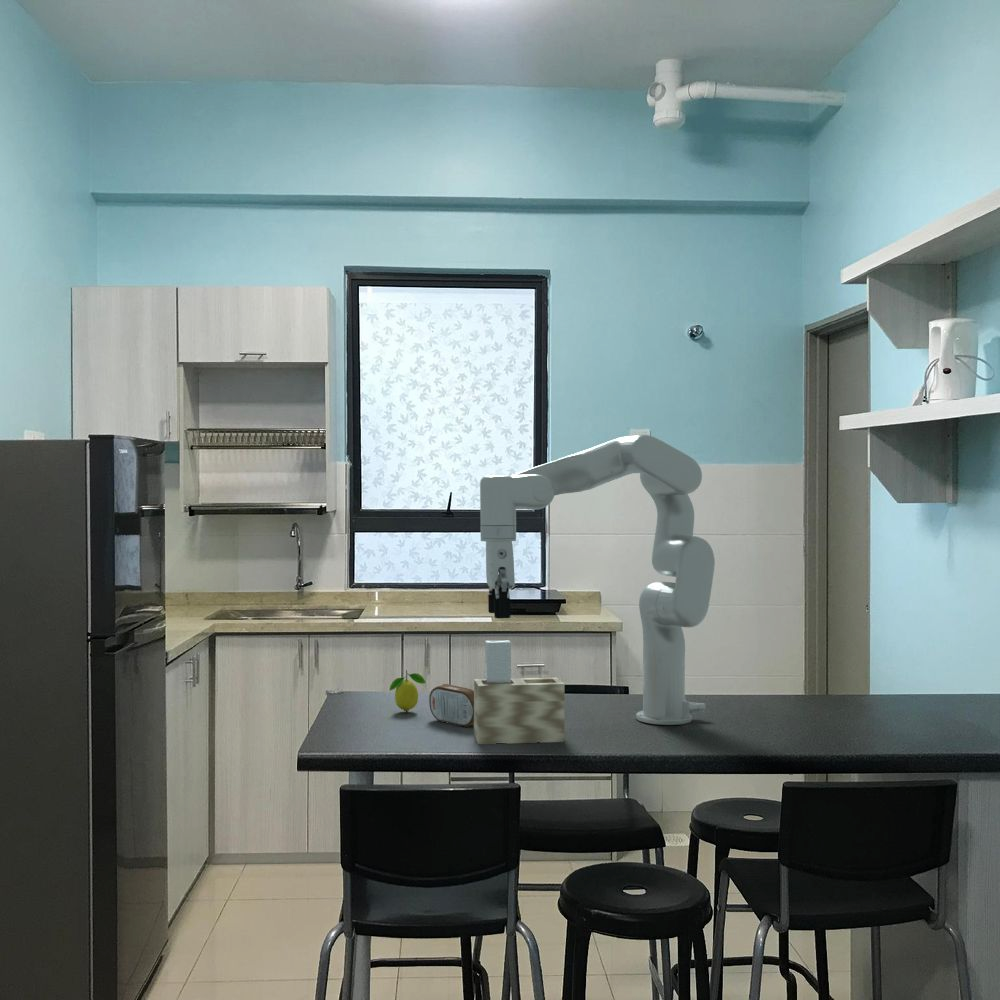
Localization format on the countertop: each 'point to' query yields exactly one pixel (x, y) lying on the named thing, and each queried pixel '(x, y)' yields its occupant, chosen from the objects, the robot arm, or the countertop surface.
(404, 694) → the lemon
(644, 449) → the robot arm
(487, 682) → the grey slab
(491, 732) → the two-slot cinder block
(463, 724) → the tin
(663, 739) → the countertop surface
